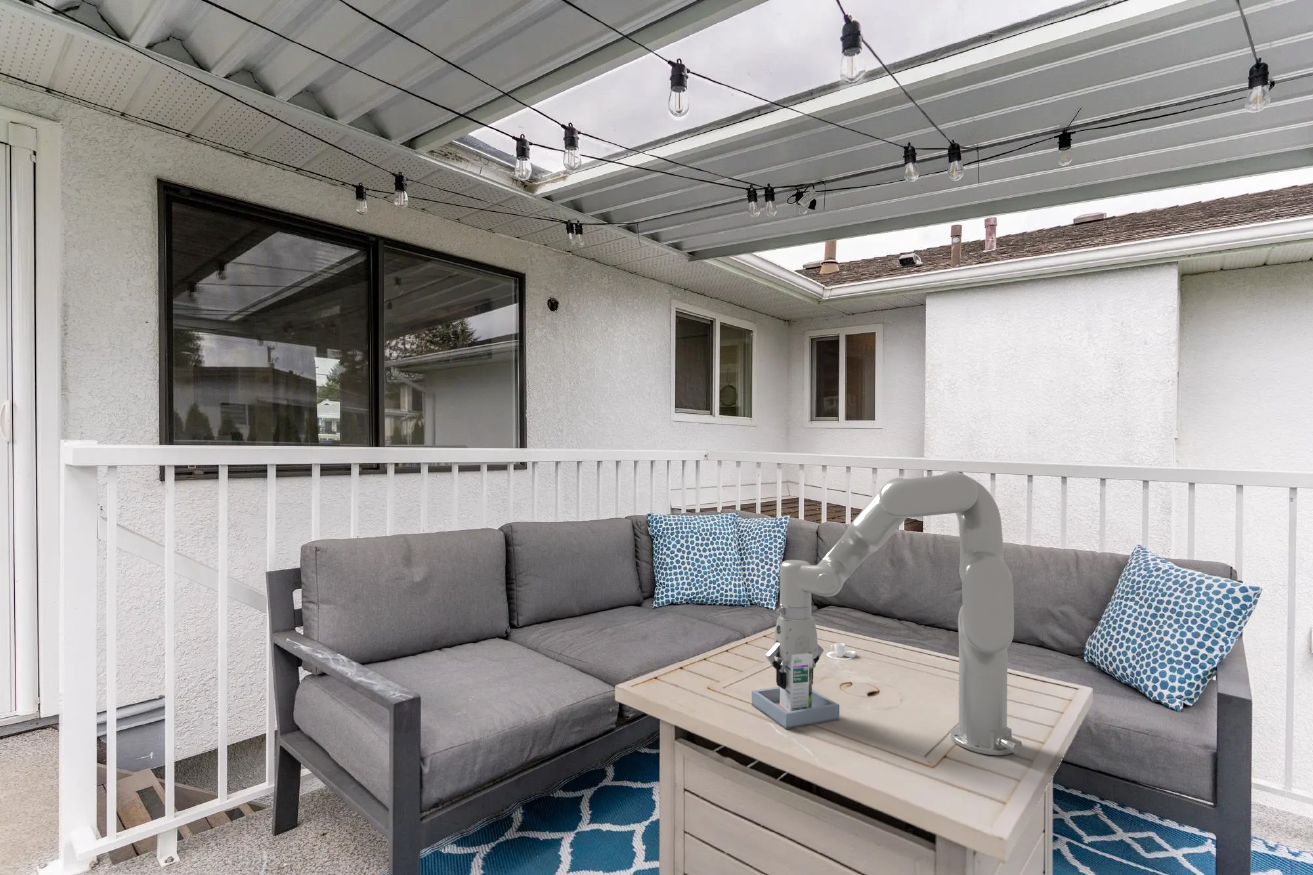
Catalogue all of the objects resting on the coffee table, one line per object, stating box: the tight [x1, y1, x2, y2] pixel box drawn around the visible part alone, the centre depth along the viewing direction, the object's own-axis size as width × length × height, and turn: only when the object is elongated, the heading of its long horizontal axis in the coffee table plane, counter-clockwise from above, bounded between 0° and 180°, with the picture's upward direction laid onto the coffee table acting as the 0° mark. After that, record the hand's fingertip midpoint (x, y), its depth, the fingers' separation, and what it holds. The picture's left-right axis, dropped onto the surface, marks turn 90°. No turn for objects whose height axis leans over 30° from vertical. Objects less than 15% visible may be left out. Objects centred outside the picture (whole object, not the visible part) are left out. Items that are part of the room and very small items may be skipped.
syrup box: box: [780, 652, 813, 712], centre depth 155 cm, size 6×6×14 cm
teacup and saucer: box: [825, 642, 858, 661], centre depth 199 cm, size 9×8×4 cm
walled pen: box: [751, 686, 840, 730], centre depth 156 cm, size 15×15×4 cm
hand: (794, 684), depth 156 cm, fingers open, 7 cm apart
